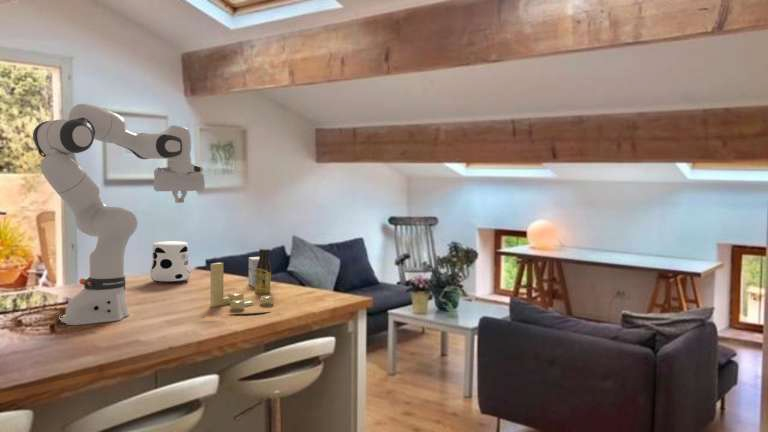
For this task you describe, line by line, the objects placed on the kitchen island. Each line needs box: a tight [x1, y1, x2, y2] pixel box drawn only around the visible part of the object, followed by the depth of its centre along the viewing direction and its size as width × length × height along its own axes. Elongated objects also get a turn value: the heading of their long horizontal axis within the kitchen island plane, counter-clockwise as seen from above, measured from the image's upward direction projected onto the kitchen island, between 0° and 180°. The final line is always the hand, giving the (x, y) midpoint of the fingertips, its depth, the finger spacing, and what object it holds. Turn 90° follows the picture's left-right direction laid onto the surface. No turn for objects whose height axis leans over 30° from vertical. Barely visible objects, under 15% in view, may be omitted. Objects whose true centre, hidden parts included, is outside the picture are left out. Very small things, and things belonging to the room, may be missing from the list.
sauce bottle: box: [254, 247, 272, 295], centre depth 265 cm, size 6×6×20 cm
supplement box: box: [248, 256, 260, 288], centre depth 288 cm, size 7×7×13 cm
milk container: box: [150, 240, 191, 284], centre depth 292 cm, size 17×17×18 cm
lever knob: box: [210, 262, 245, 308], centre depth 242 cm, size 14×6×16 cm, turn 142°
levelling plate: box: [228, 295, 274, 317], centre depth 240 cm, size 22×22×4 cm
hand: (179, 202), depth 251 cm, fingers closed
